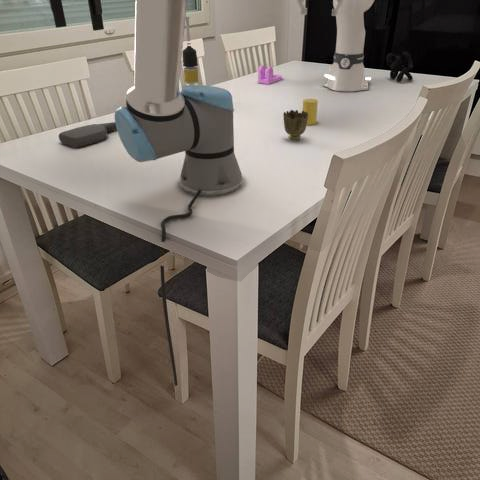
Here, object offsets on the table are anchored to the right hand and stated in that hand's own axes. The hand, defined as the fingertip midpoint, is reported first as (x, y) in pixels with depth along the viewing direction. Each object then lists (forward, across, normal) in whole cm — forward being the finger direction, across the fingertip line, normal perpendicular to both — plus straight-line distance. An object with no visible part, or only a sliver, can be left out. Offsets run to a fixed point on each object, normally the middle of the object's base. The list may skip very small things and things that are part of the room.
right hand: (318, 15), depth 133 cm
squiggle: (+33, +20, +74) cm, 84 cm away
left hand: (-1, -46, -51) cm, 69 cm away
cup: (+32, 0, -18) cm, 37 cm away
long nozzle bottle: (+33, -50, +9) cm, 61 cm away
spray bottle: (+33, -59, -36) cm, 76 cm away
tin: (+33, -1, 0) cm, 33 cm away
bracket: (+33, -34, +54) cm, 72 cm away
